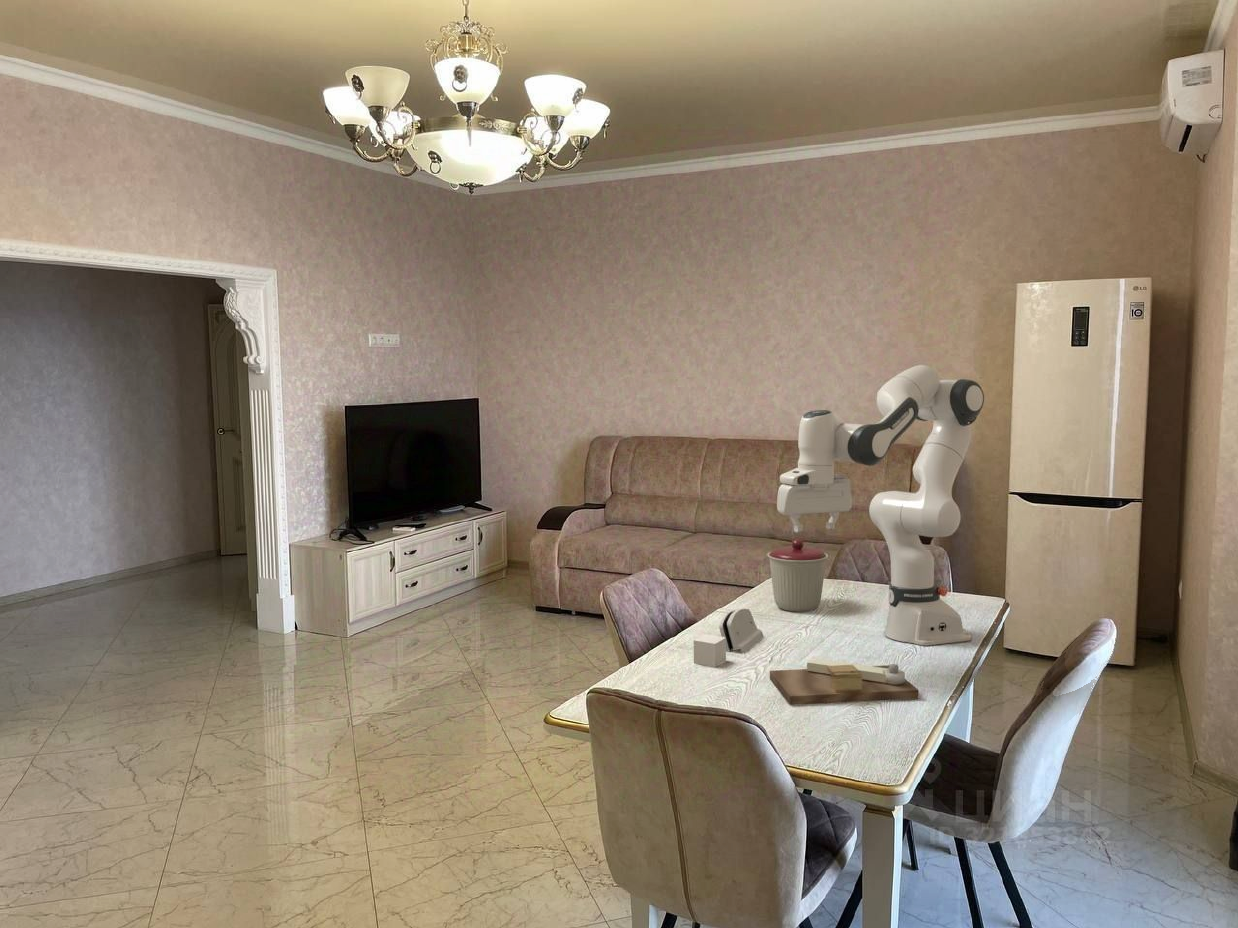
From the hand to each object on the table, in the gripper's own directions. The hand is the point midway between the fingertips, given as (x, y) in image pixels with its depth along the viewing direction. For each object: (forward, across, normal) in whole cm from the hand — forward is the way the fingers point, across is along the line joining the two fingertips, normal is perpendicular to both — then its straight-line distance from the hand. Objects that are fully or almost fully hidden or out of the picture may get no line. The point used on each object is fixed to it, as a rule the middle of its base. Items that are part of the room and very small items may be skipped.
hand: (814, 530), depth 230 cm
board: (+32, +7, +22) cm, 40 cm away
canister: (+32, -23, -42) cm, 57 cm away
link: (+30, +3, +22) cm, 37 cm away
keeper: (+30, +10, +26) cm, 41 cm away
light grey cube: (+33, +25, -8) cm, 42 cm away
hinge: (+33, +10, -18) cm, 39 cm away
